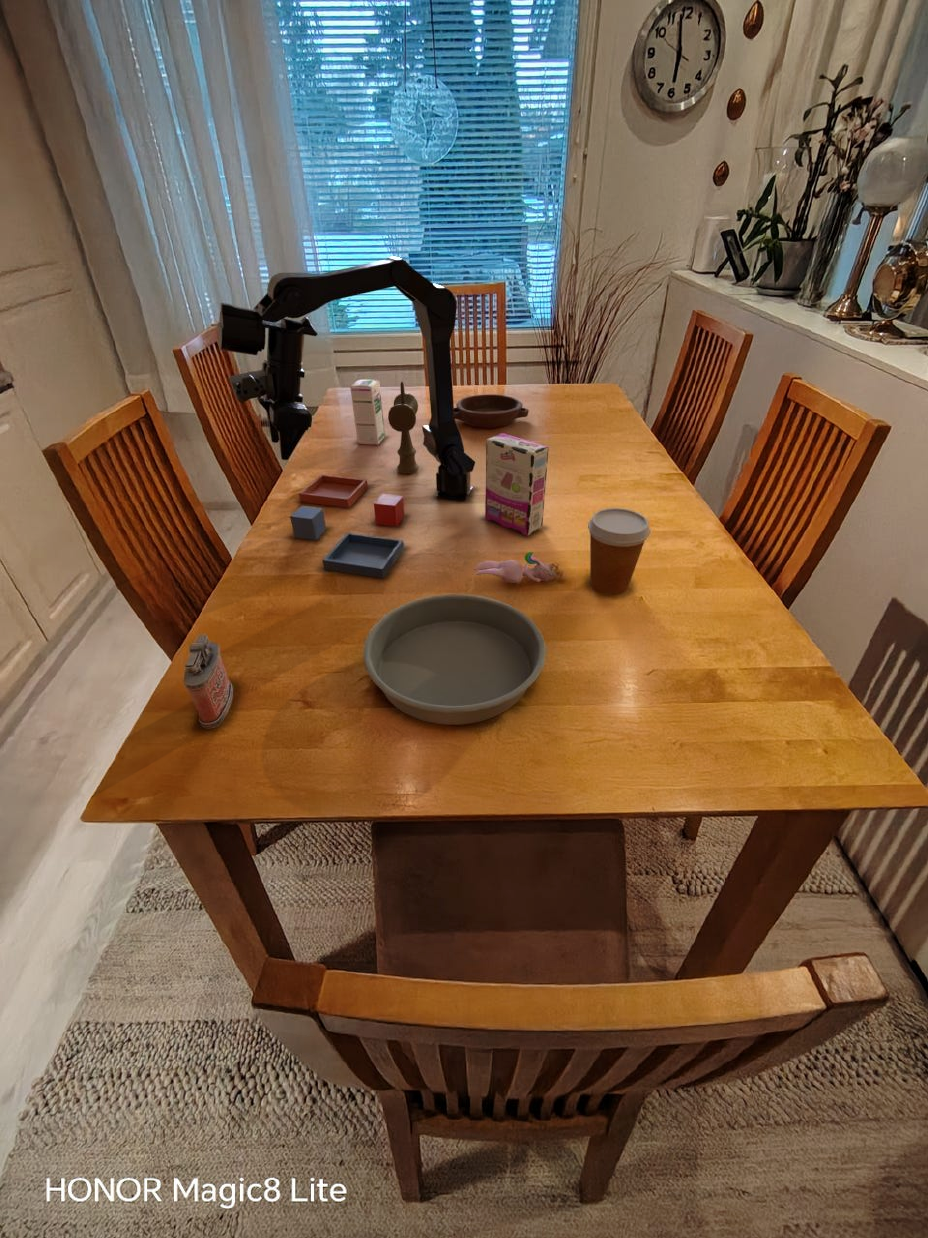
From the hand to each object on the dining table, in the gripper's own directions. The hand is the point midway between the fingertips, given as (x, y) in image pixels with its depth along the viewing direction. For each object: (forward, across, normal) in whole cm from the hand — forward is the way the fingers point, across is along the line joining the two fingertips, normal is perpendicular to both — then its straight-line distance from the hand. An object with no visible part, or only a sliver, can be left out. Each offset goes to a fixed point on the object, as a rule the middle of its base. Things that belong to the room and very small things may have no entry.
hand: (279, 450), depth 106 cm
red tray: (+12, -11, +14) cm, 22 cm away
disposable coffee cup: (+4, +44, +46) cm, 63 cm away
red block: (+11, +6, +21) cm, 24 cm away
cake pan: (+12, +52, +15) cm, 55 cm away
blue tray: (+13, +18, +12) cm, 25 cm away
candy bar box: (+6, +18, +42) cm, 46 cm away
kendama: (+8, -16, +33) cm, 37 cm away
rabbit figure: (+8, +36, +33) cm, 49 cm away
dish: (0, -38, +64) cm, 74 cm away
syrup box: (+8, -38, +31) cm, 50 cm away
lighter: (+20, +45, -15) cm, 51 cm away
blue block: (+14, +4, +6) cm, 16 cm away
